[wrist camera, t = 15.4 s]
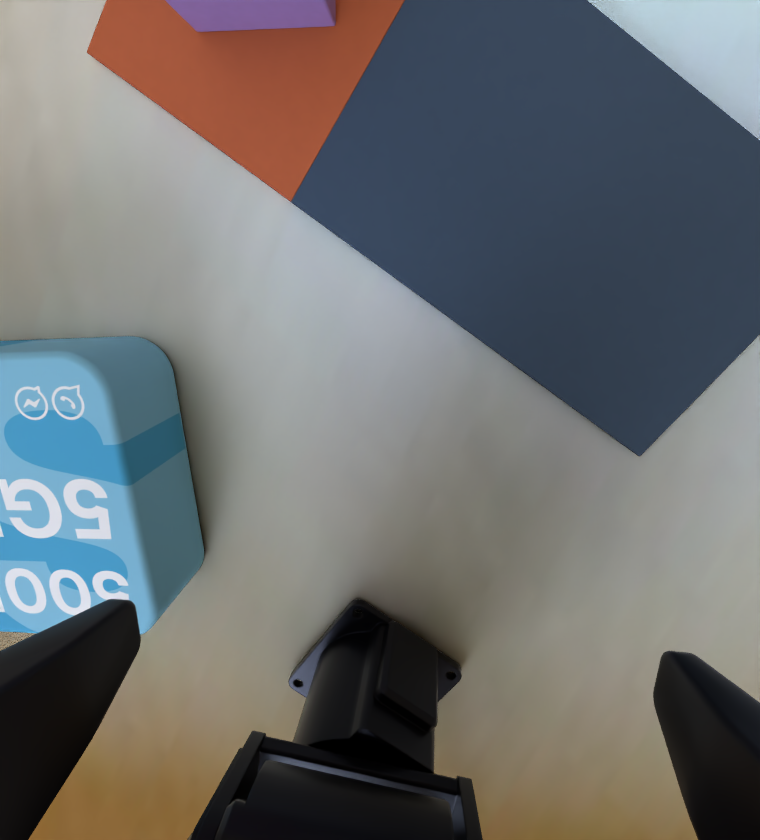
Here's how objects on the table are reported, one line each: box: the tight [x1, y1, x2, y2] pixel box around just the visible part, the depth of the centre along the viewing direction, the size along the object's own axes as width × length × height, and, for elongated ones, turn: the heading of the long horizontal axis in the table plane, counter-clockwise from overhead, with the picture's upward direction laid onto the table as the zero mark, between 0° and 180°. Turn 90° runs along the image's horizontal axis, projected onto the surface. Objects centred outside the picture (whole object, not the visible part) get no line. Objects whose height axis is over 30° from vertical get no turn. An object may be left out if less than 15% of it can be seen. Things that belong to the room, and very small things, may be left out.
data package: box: [0, 336, 204, 635], centre depth 21 cm, size 12×4×12 cm
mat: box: [87, 0, 760, 456], centre depth 17 cm, size 26×10×1 cm, turn 55°
